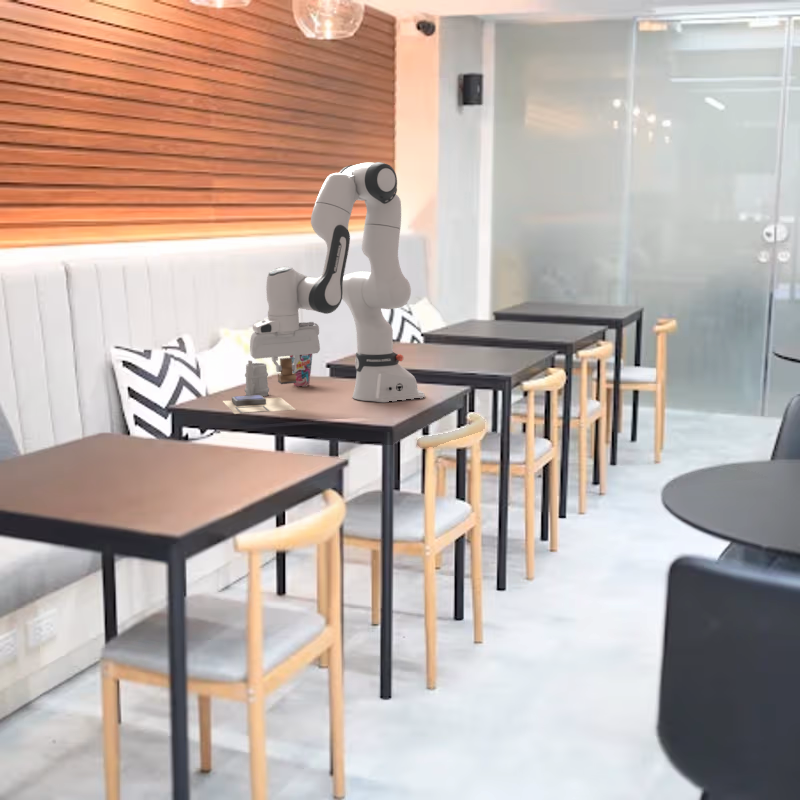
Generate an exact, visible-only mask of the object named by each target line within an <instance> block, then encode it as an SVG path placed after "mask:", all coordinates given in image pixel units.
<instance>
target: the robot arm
mask: <svg viewBox="0 0 800 800" xmlns="http://www.w3.org/2000/svg"><path fill="white" fill-rule="evenodd" d="M397 192H398V178H397V174H396V171H395V169H394V167H392V166H391V165H389V164H387V163H385V162H381V161H380V162H379V161H377V162H361V163H357V164H353V165H352V164H350V165H347V166H345V167H343V168H342V169H340V171H339V172H334V173H330V174H329V175H328V176H326V179H325V180H324V182H323V184H322V185H321V188H320V190H319V192H318V195H317V197H316V198H315V199H316V200H315V202H314V205H313V209H312V211H311V212H312V213H311V215H310V224H311V227H312V229H313V231H314V233H315V234H316V235H317V236H318V237H319V238H320V239H322V240H323V241H324V242H325V244H326V257H325V260H324V264H323V266H324V267H323V271H322V274H321V275H320V276H319V277H315V276H314V277H313V276H307V275H305V274H303V273H300V272H299V271H296V270H295V269H294V268H293V267H291V266H283V267H276V268H274V269H272V270H270V271H269V272H268V274H267V277H266V286H265V288H266V291H265V292H266V301H267V304H268V310H267V318H265V319H262V320H261V321H257V322H255V323H253V324H252V330H253V331H254V332H253V333H252V334H251V335H250V340H249V341H250V342H249V354H250V356H251V357H252V358H253V359H254V360H256V359H268V358H271V361H272V362H273V364H274V365H275V371H276V373H281V372H282V366H281V365H280V364H279V363H278V362H277V361H278V360H279V358H280V357H281V358H282V357H290V356H292V355H293V357H294V358H295V360H294V362H293V364H292V371H295V370H297V368H296V365H297V363H298V361H299V359H300V355H304V354H312V355H314V354H315V355H316V354H318V353H319V352H320V350H321V347H320V340H319V339H320V338H319V334H320V327H319V324H317V323H315V322H314V321H309V322H300V319H299V318H300V317H299V316H300V315H299V309H301V310H307V311H315V312H318V313H320V314H321V313H322V314H327V315H328V314H332V313H333V312H335V311H336V310H337V309H338V308H339V307H340V305H341V303H342V301H343V302H345V305H347V306H348V308H349V310H350V312H351V315H352V317H353V318H352V319H354V324H355V325H354V326H355V328H356V329H355V330H356V331H355V332H356V353H355V370H356V377H355V383H354V384H355V386H354V390H353V393H352V399H355V400H358V401H366V402H377V403H388V402H389V401H392V402H398V401H397V400H402V401H407V400H406V399H411V400H415V399H414V398H420V399H424V398H426V396H425V393H424V391H422V390H420V389H418V382H417V380H416V378H415V376H414V375H413V374H412V373H411V372H410V371H408V370H407V369H406V368H404V367H403V366H402V365H401V364H400V363H399V362H402V361H403V360H404V355H402V354H401V353H396V352H394V349H393V347H394V344H393V343H394V342H393V340H394V337H393V335H394V333H393V332H394V331H393V327H392V325H391V323H389V322H388V320H386V319H385V317H384V315H383V311H382V310H393V309H394V310H395V309H399V308H403V307H405V306H406V305H407V304H408V302H409V300H410V298H411V292H412V288H411V284H410V282H409V281H408V279H407V277H406V276H405V275H404V274H403V271H402V269H401V266H400V265H401V264H400V262H399V243H400V233H401V225H402V206H401V205H402V203H401V202H402V201H401V198H400V196H399V195H397ZM357 201H363V202H364V204H365V207H366V208H365V209H366V215H365V218H364V219H365V220H364V226H363V227H364V228H363V235H362V241H361V251H362V253H363V255H364V256H366V258H367V259H368V261H369V263H370V271H365V270H364V271H362V270H359V271H354V272H349V273H347V274H345V271H346V267H347V266H346V265H347V260H348V256H349V249H350V241H351V235H350V231H349V223H350V218H351V215H352V212H353V207H354V204H355V202H357ZM278 357H279V358H278ZM423 397H424V398H423ZM389 403H390V402H389Z"/></svg>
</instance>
